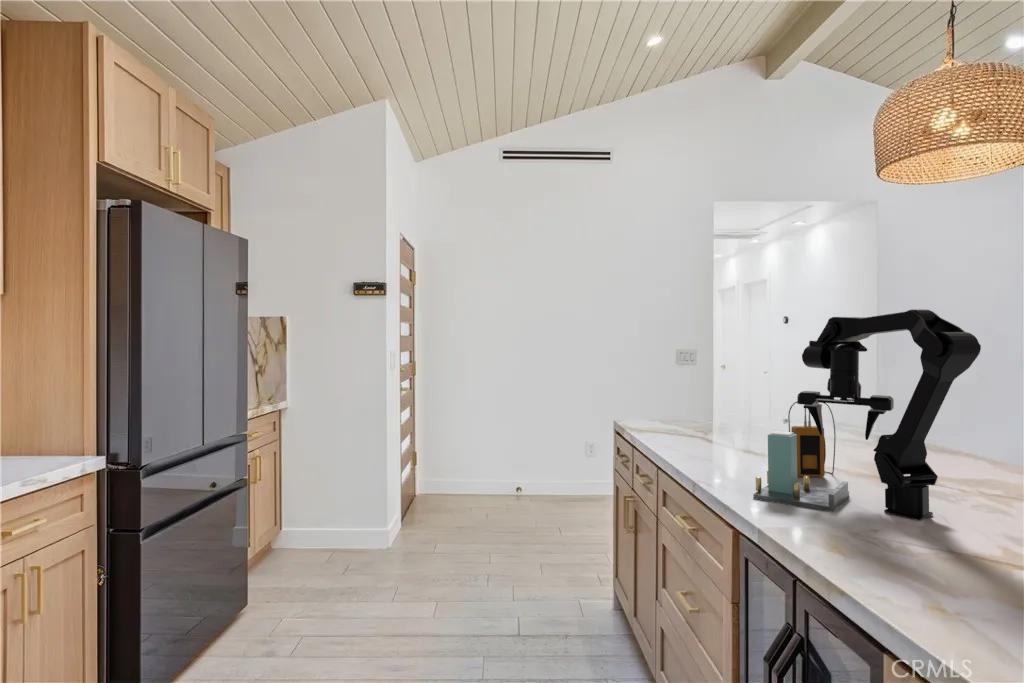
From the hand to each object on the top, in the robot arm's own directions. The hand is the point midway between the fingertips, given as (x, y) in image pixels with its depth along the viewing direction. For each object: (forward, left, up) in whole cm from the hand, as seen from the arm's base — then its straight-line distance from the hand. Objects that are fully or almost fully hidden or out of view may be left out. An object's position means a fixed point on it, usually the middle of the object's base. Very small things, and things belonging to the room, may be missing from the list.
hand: (843, 437), depth 129 cm
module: (+8, +12, -12) cm, 19 cm away
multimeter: (+17, -12, -14) cm, 25 cm away
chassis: (+5, +11, -13) cm, 18 cm away
